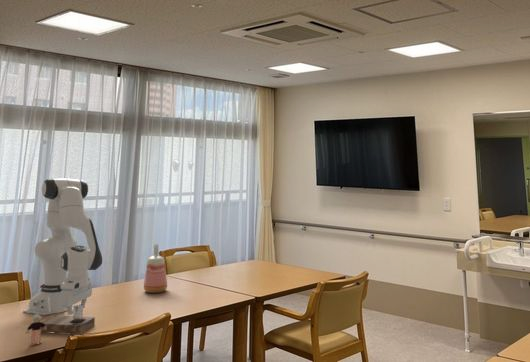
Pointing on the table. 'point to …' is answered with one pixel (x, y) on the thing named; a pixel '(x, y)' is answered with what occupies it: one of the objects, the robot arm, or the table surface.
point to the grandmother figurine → (36, 329)
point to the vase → (155, 273)
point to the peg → (78, 313)
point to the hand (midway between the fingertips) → (76, 311)
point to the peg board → (67, 325)
